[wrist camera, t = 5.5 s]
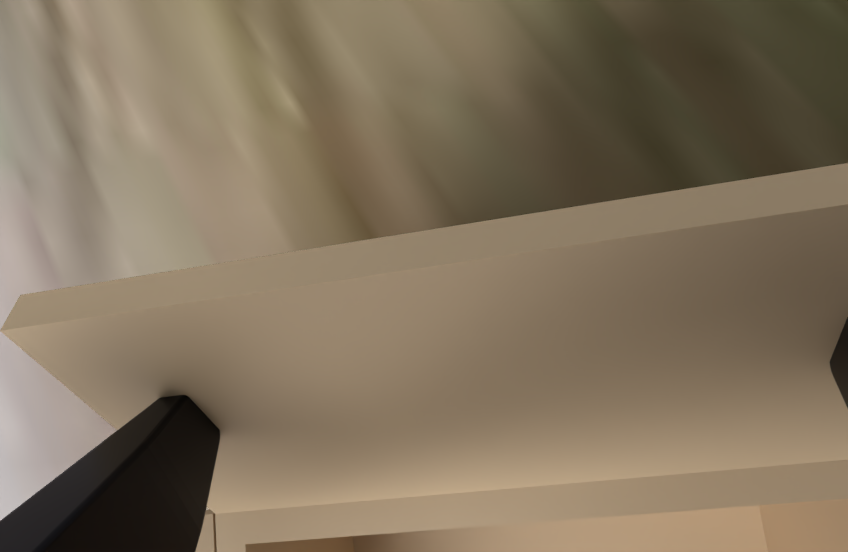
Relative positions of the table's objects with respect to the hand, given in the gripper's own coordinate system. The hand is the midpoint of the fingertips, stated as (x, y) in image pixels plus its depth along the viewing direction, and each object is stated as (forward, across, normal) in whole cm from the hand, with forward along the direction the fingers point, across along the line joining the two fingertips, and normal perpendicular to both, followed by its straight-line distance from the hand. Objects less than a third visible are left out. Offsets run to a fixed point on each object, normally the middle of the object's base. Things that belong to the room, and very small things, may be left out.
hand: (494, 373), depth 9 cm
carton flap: (0, 0, +1) cm, 1 cm away
